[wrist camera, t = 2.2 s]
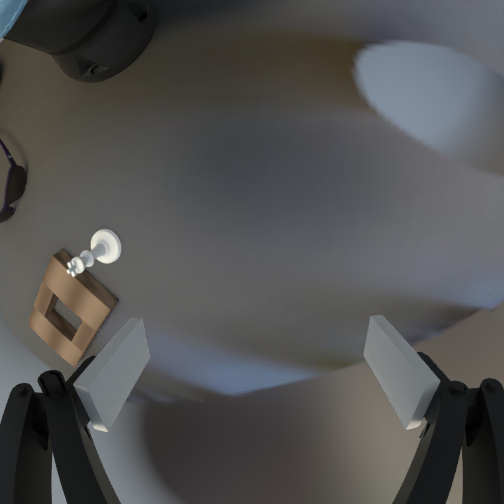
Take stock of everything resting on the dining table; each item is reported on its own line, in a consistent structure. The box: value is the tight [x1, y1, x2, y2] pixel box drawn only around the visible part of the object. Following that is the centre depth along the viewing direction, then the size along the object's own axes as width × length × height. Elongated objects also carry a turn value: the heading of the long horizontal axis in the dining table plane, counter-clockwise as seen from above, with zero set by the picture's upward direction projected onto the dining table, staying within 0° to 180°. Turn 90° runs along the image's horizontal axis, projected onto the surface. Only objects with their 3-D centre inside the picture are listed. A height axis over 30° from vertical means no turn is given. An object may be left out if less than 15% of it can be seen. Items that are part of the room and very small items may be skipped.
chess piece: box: [66, 229, 121, 277], centre depth 30 cm, size 5×5×10 cm
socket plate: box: [28, 249, 118, 368], centre depth 37 cm, size 12×18×3 cm, turn 138°
